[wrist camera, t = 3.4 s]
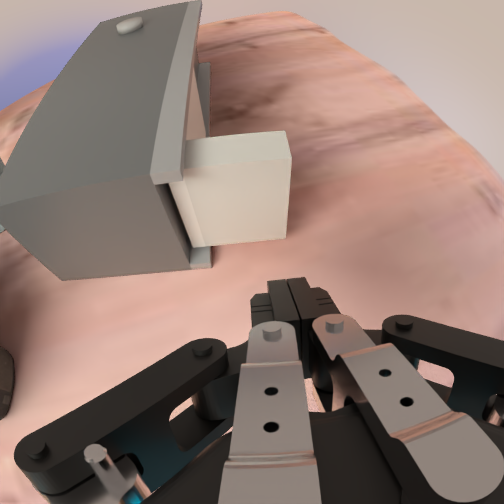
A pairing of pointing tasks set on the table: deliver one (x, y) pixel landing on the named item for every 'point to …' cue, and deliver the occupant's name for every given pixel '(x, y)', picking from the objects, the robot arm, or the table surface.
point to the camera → (5, 381)
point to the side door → (232, 184)
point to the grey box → (111, 152)
